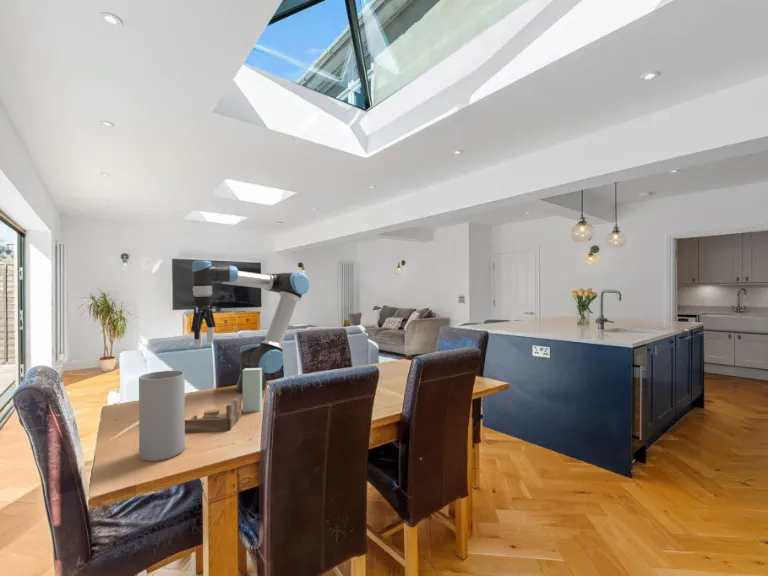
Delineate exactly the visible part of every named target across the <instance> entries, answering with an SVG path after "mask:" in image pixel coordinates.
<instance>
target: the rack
mask: <svg viewBox="0 0 768 576" xmlns="http://www.w3.org/2000/svg"><path fill="white" fill-rule="evenodd" d="M225 410H226V412H225V414H226V415H225V416H226V417H222V418H221V419H202V417H200V418H198V415H194V416H192V417H191V418H189V419H185V433H189V432H190V433H195V432H198V433H199V432H222V431H223V432H224V431H226V432H228V431H231V430H232V429H233V427H234V426H235V425H236V424H237V423H238V422H239V420H241V418H242V394H238V395H236V396H235V397H234V398H233V399H232V400H231V401H230V402H229V403H228V404H227V405H226V406H225Z"/></svg>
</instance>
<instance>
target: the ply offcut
mask: <svg viewBox="0 0 768 576" xmlns="http://www.w3.org/2000/svg"><path fill="white" fill-rule="evenodd" d="M201 418H202V419H221V418H223V417H222V413H219V415H218V416H216V417H204V415H203V416H202V417H201Z"/></svg>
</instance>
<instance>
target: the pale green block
mask: <svg viewBox="0 0 768 576" xmlns="http://www.w3.org/2000/svg"><path fill="white" fill-rule="evenodd" d="M242 372H243V392H242V412H243V413H244V412H245V413H246V412H261V411H262V409H263V390H262V368H245V369H244V370H242Z"/></svg>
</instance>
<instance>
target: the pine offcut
mask: <svg viewBox="0 0 768 576" xmlns="http://www.w3.org/2000/svg"><path fill="white" fill-rule="evenodd" d="M220 411H221V409H220V408H213V409H211V408H210V409H204V412H203V416H204V417H216V416H218V415H219V414H220Z"/></svg>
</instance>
